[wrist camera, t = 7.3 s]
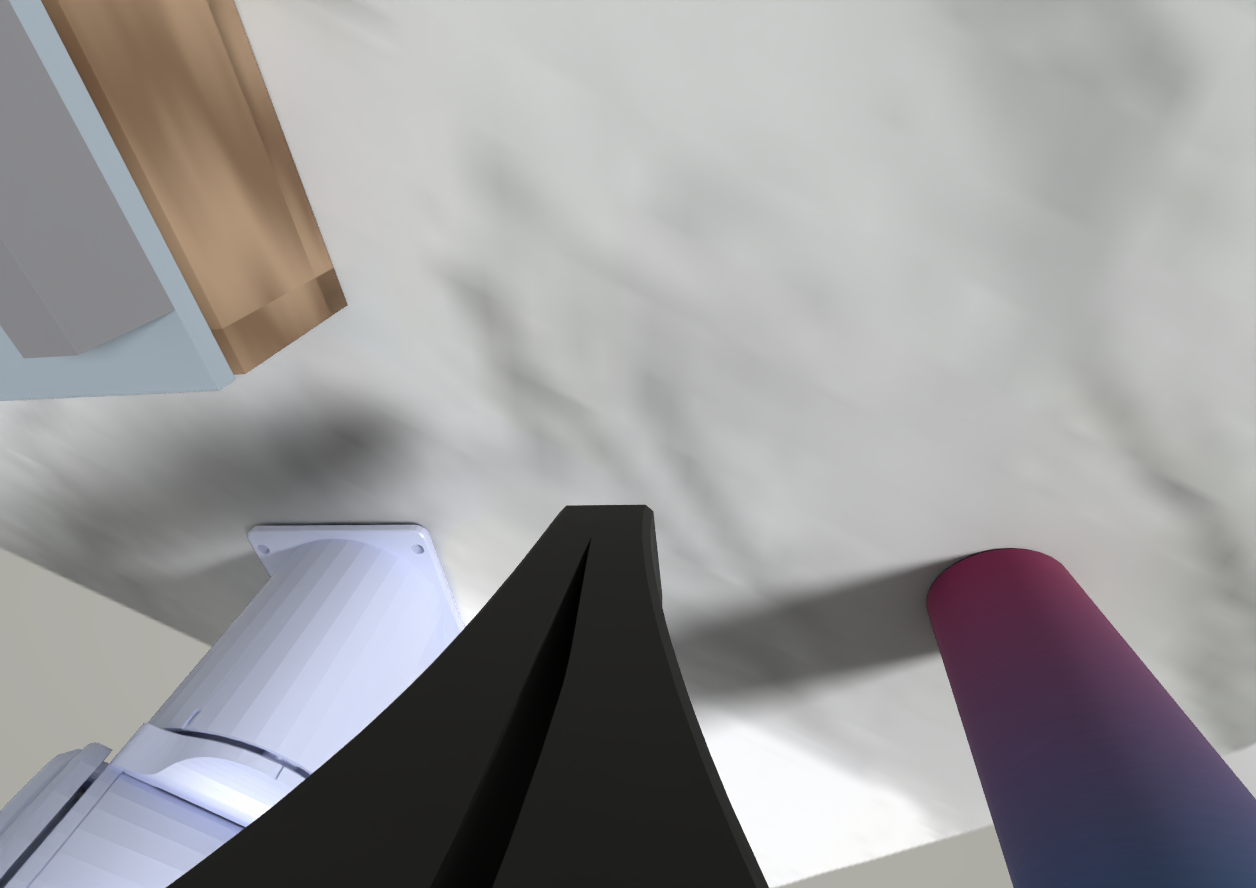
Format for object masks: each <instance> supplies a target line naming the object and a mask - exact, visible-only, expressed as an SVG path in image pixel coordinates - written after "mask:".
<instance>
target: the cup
mask: <svg viewBox="0 0 1256 888" xmlns="http://www.w3.org/2000/svg"><path fill="white" fill-rule="evenodd" d="M926 606H927V611H928V615H929V618H930V621H931V624H932V627H933V631H934V634H935V637H936V640H937V643H938V647H939V650H940V653H941V656H942V659H943V663H944V666H945V669H946V672H947V675H948V679H949V682H950V685H951V688H952V692H953V695H954V698H955V701H956V704H957V708H958V711H959V714H960V717H961V720H962V724H963V727H964V730H965V733H966V736H967V740H968V743H969V746H970V749H971V752H972V756H973V759H974V762H975V765H976V768H977V772H978V775H979V778H980V781H981V784H982V788H983V791H984V794H985V797H986V800H987V804H988V807H989V810H990V813H991V817H992V820H993V823H994V826H995V829H996V833H997V836H998V839H999V842H1000V845H1001V848H1002V852H1003V855H1004V858H1005V861H1006V864H1007V868H1008V871H1009V874H1010V877H1011V881H1012V883H1013V887H1014V888H1256V799H1255V798H1254V797H1253V796H1252V794H1251V793H1250V792H1249V791H1248V789H1247V788H1246V787H1245V786H1244V784H1243V783H1242V782H1241V781H1240V780H1239V778H1238V777H1237V776H1236V775H1235V774H1234V773H1233V771H1232V770H1231V769H1230V768H1229V766H1228V765H1227V764H1226V763H1225V762H1224V760H1223V759H1222V758H1221V757H1220V755H1219V754H1218V753H1217V752H1216V750H1215V749H1214V748H1213V747H1212V746H1211V744H1210V743H1209V742H1208V741H1207V740H1206V738H1205V737H1204V736H1203V735H1202V733H1201V732H1200V731H1199V730H1198V729H1197V727H1196V726H1195V725H1194V724H1193V723H1192V721H1191V720H1190V719H1189V718H1188V716H1187V715H1186V714H1185V713H1184V712H1183V710H1182V709H1181V708H1180V707H1179V706H1178V704H1177V703H1176V702H1175V701H1174V699H1173V698H1172V697H1171V696H1170V695H1169V693H1168V692H1167V691H1166V690H1165V689H1164V687H1163V686H1162V685H1161V684H1160V682H1159V681H1158V680H1157V679H1156V678H1155V676H1154V675H1153V674H1152V673H1151V672H1150V670H1149V669H1148V668H1147V667H1146V665H1145V664H1144V663H1143V662H1142V661H1141V659H1140V658H1139V657H1138V656H1137V655H1136V653H1135V652H1134V651H1133V650H1132V648H1131V647H1130V646H1129V645H1128V644H1127V642H1126V641H1125V640H1124V639H1123V638H1122V636H1121V635H1120V634H1119V633H1118V631H1117V630H1116V629H1115V628H1114V627H1113V625H1112V624H1111V623H1110V622H1109V621H1108V619H1107V618H1106V617H1105V616H1104V615H1103V613H1102V612H1101V611H1100V610H1099V608H1098V607H1097V606H1096V605H1095V604H1094V602H1093V601H1092V600H1091V599H1090V598H1089V596H1088V595H1087V594H1086V593H1085V591H1084V590H1083V589H1082V588H1081V587H1080V585H1079V584H1078V583H1077V582H1076V581H1075V579H1074V578H1073V577H1072V576H1071V574H1070V573H1069V572H1068V571H1067V570H1066V568H1065V567H1064V566H1063V565H1062V564H1061V563H1060V562H1058V561H1057V560H1055V559H1054V558H1052V557H1050V556H1048V555H1045V554H1043V553H1040V552H1036V551H1031V550H1027V549H999V550H993V551H988V552H983V553H980V554H977V555H974V556H971V557H968V558H966V559H964V560H962V561H960V562H958V563H956V564H954V565H953V566H951V567H950V568H948V569H947V570H946V571H944V572H943V573H942V574H941V575H940V576H939V577H938V578H937V579H936V581H935V582H934V584H933V585H932V586H931V588H930V591H929V593H928V596H927V605H926Z"/></svg>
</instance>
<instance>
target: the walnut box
mask: <svg viewBox="0 0 1256 888" xmlns="http://www.w3.org/2000/svg"><path fill="white" fill-rule="evenodd" d="M41 2H42V4H43V6H44V8H45V10H46V11H47V13H48V15H49V17H50V19H51V21H52V23H53V25H54V27H55V29H56V31H57V33H58V35H59V37H60V39H61V41H62V43H63V45H64V46H65V48H66V50H67V52H68V54H69V56H70V58H71V60H72V62H73V64H74V66H75V68H76V70H77V72H78V74H79V76H80V78H81V79H82V81H83V83H84V85H85V87H86V89H87V91H88V93H89V95H90V97H91V99H92V101H93V103H94V105H95V107H96V109H97V111H98V113H99V114H100V116H101V118H102V120H103V122H104V124H105V126H106V128H107V130H108V132H109V134H110V136H111V138H112V140H113V142H114V144H115V146H116V147H117V149H118V151H119V153H120V155H121V157H122V159H123V161H124V163H125V165H126V167H127V169H128V171H129V173H130V175H131V177H132V179H133V180H134V182H135V184H136V186H137V188H138V190H139V192H140V194H141V196H142V198H143V200H144V202H145V204H146V206H147V208H148V210H149V212H150V214H151V215H152V217H153V219H154V221H155V223H156V225H157V227H158V229H159V231H160V233H161V235H162V237H163V239H164V241H165V243H166V245H167V247H168V248H169V250H170V252H171V254H172V256H173V258H174V260H175V262H176V264H177V266H178V268H179V270H180V272H181V274H182V276H183V278H184V280H185V282H186V283H187V285H188V287H189V289H190V291H191V293H192V295H193V297H194V299H195V301H196V303H197V305H198V307H199V309H200V311H201V313H202V315H203V316H204V318H205V320H206V322H207V324H208V326H209V328H210V330H211V332H212V334H213V336H214V338H215V340H216V342H217V344H218V346H219V348H220V350H221V351H222V353H223V355H224V357H225V359H226V361H227V363H228V365H229V367H230V369H231V371H232V373H233V375H234V374H246V373H247V372H249V371H250V370H252V369H253V368H255V367H256V366H258V365H259V364H261V363H262V362H264V361H265V360H267V359H268V358H270V357H271V356H273V355H274V354H276V353H277V352H279V351H280V350H282V349H283V348H285V347H286V346H287V345H289V344H290V343H292V342H293V341H295V340H296V339H298V338H299V337H301V336H302V335H304V334H305V333H307V332H308V331H310V330H311V329H313V328H314V327H316V326H317V325H319V324H320V323H322V322H323V321H325V320H326V319H328V318H329V317H331V316H332V315H334V314H335V313H337V312H338V311H339V310H341V309H342V308H344V307H345V306H347V302H346V300H345V297H344V294H343V292H342V289H341V286H340V284H339V281H338V278H337V276H336V273H335V270H334V268H333V265H332V262H331V260H330V257H329V254H328V251H327V249H326V246H325V243H324V241H323V238H322V235H321V233H320V230H319V227H318V225H317V222H316V219H315V217H314V214H313V211H312V209H311V206H310V203H309V201H308V198H307V195H306V193H305V190H304V187H303V185H302V182H301V179H300V177H299V174H298V171H297V169H296V166H295V163H294V160H293V158H292V155H291V152H290V150H289V147H288V144H287V142H286V139H285V136H284V134H283V131H282V128H281V126H280V123H279V120H278V118H277V115H276V112H275V110H274V107H273V104H272V102H271V99H270V96H269V94H268V91H267V88H266V86H265V83H264V80H263V78H262V75H261V72H260V70H259V67H258V64H257V61H256V59H255V56H254V53H253V51H252V48H251V45H250V43H249V40H248V37H247V35H246V32H245V29H244V27H243V24H242V21H241V19H240V16H239V13H238V11H237V8H236V5H235V3H234V0H41Z"/></svg>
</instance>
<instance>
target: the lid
mask: <svg viewBox="0 0 1256 888" xmlns="http://www.w3.org/2000/svg"><path fill="white" fill-rule="evenodd" d="M234 380H236V379H235V377H234V375H233V373H232V371H231V369H230V367H229V365H228V363H227V361H226V359H225V357H224V355H223V353H222V351H221V350H220V348H219V346H218V344H217V342H216V340H215V338H214V336H213V334H212V332H211V330H210V328H209V326H208V324H207V322H206V320H205V318H204V316H203V315H202V313H201V311H200V309H199V307H198V305H197V303H196V301H195V299H194V297H193V295H192V293H191V291H190V289H189V287H188V285H187V283H186V282H185V280H184V278H183V276H182V274H181V272H180V270H179V268H178V266H177V264H176V262H175V260H174V258H173V256H172V254H171V252H170V250H169V248H168V247H167V245H166V243H165V241H164V239H163V237H162V235H161V233H160V231H159V229H158V227H157V225H156V223H155V221H154V219H153V217H152V215H151V214H150V212H149V210H148V208H147V206H146V204H145V202H144V200H143V198H142V196H141V194H140V192H139V190H138V188H137V186H136V184H135V182H134V180H133V179H132V177H131V175H130V173H129V171H128V169H127V167H126V165H125V163H124V161H123V159H122V157H121V155H120V153H119V151H118V149H117V147H116V146H115V144H114V142H113V140H112V138H111V136H110V134H109V132H108V130H107V128H106V126H105V124H104V122H103V120H102V118H101V116H100V114H99V113H98V111H97V109H96V107H95V105H94V103H93V101H92V99H91V97H90V95H89V93H88V91H87V89H86V87H85V85H84V83H83V81H82V79H81V78H80V76H79V74H78V72H77V70H76V68H75V66H74V64H73V62H72V60H71V58H70V56H69V54H68V52H67V50H66V48H65V46H64V45H63V43H62V41H61V39H60V37H59V35H58V33H57V31H56V29H55V27H54V25H53V23H52V21H51V19H50V17H49V15H48V13H47V11H46V10H45V8H44V6H43V4H42V2H41V0H0V401H12V400H33V399H54V398H75V397H97V396H118V395H139V394H160V393H181V392H203V391H219V390H221V389H222V388H224V387H225V386H227V385H228V384H230V383H231V382H233V381H234Z"/></svg>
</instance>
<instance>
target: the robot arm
mask: <svg viewBox="0 0 1256 888" xmlns="http://www.w3.org/2000/svg"><path fill="white" fill-rule="evenodd" d="M247 537H248V540H249V542H250V543H251V545H252V547H253V548H254V550H255V552H256V553H257V555H258V557H259V558H260V560H261V562H262V563H263V565H264V567H265V568H266V570H267V572H268V573H269V575H270V577H271V578H270V579H269V581H268V582H267V583H266V584H265V585H264V586H263V588H262V589H261V590H260V591H259V592H258V593H257V595H256V596H255V597H254V598H253V599H252V601H251V602H250V603H249V604H248V605H247V606H246V608H245V609H244V610H243V611H242V612H241V614H240V615H239V616H238V617H237V618H236V619H235V621H234V622H233V623H232V624H231V625H230V626H229V628H228V629H227V630H226V631H225V632H224V634H223V635H222V636H221V637H220V638H219V639H218V641H217V642H216V643H215V644H214V645H213V647H212V648H211V649H210V650H209V651H208V652H207V654H206V655H205V656H204V657H203V658H202V659H201V661H200V662H199V663H198V664H197V665H196V667H195V668H194V669H193V670H192V672H190V674H189V675H188V676H187V677H186V678H185V680H184V681H183V682H182V683H181V684H180V685H179V687H178V688H177V689H176V690H175V691H174V692H173V694H172V695H171V696H170V697H169V699H168V700H167V701H166V702H165V703H164V704H163V705H162V707H161V708H160V709H159V710H158V711H157V712H156V714H155V715H154V716H153V717H152V718H151V720H150V721H149V722H148V723H145V724H143V725H142V726H141V727H140V729H139V730H138V731H137V732H136V733H135V734H134V735H133V737H132V738H131V739H130V740H129V741H128V742H127V744H126V745H125V746H124V747H123V748H122V749H121V751H120V752H119V753H118V754H117V755H116V756H115V758H114V759H113V760H112V761H111V762H110V763H109V764H108V763H106V762H104V760H105V758H106V757H107V756H108V755H109V754H110V753H111V751H112V749H110V748H108V747H106V746H104V745H102V744H100V743H95V742H94V743H91V744H89V745H87V746H86V747H85V748H84V749H82V750H80V749H77V750H74V751H70V752H66V753H63V754H60V755H57V756H56V757H55V758H53V759H52V760H51V761H50V762H49V763H48V764H47V765H45V766H44V767H43V768H42V769H41V770H40V771H39V772H38V773H37V774H36V775H35V776H34V777H33V778H32V779H31V780H30V781H29V782H28V783H27V784H26V785H25V786H24V787H23V788H22V789H21V790H20V791H19V792H18V793H17V794H16V795H15V796H14V797H13V798H12V799H11V800H10V801H9V802H8V803H7V804H6V805H5V807H4V808H3V809H2V810H1V811H0V888H769V887H768V885H767V882H766V880H765V878H764V876H763V874H762V871H761V869H760V867H759V865H758V863H757V860H756V858H755V856H754V854H753V852H752V849H751V847H750V845H749V843H748V841H747V838H746V836H745V834H744V832H743V830H742V827H741V825H740V823H739V821H738V819H737V816H736V814H735V812H734V810H733V808H732V805H731V803H730V801H729V798H728V796H727V794H726V791H725V789H724V786H723V784H722V781H721V779H720V777H719V774H718V772H717V769H716V767H715V764H714V762H713V759H712V757H711V755H710V752H709V750H708V747H707V744H706V742H705V739H704V736H703V734H702V731H701V729H700V726H699V723H698V721H697V718H696V715H695V713H694V710H693V707H692V704H691V701H690V699H689V696H688V693H687V690H686V687H685V684H684V681H683V678H682V675H681V672H680V669H679V665H678V662H677V659H676V656H675V653H674V649H673V646H672V643H671V639H670V636H669V632H668V629H667V625H666V621H665V617H664V613H663V609H662V589H661V580H660V570H659V561H658V552H657V542H656V533H655V524H654V514H653V511H652V510H651V509H650V508H649V507H647V506H646V505H583V506H566V507H565V508H564V509H563V510H562V511H561V512H560V513H559V514H558V515H557V517H556V518H555V519H554V521H553V522H552V523H551V524H550V526H549V527H548V528H547V530H546V531H545V532H544V533H543V535H542V536H541V537H540V539H539V540H538V541H537V542H536V544H535V545H534V546H533V548H532V549H531V550H530V551H529V553H528V554H527V555H526V556H525V558H524V559H523V560H522V561H521V563H520V564H519V565H518V566H517V568H516V569H515V570H514V571H513V573H512V574H511V575H510V576H509V577H508V578H507V580H506V581H505V582H504V583H503V584H502V586H501V587H500V588H499V589H498V590H497V592H496V593H495V594H494V595H493V596H492V597H491V599H490V600H489V601H488V602H487V603H486V605H485V606H484V607H483V608H482V609H481V610H480V612H479V613H478V614H477V615H476V616H475V617H474V618H473V619H472V621H471V622H470V623H469V624H468V625H467V626H466V627H464V625H463V622H462V620H461V617H460V614H459V612H458V609H457V606H456V604H455V601H454V598H453V596H452V593H451V590H450V588H449V585H448V583H447V580H446V577H445V575H444V572H443V569H442V567H441V564H440V561H439V559H438V556H437V554H436V551H435V548H434V546H433V543H432V540H431V538H430V535H429V533H428V531H427V530H426V529H425V528H423V527H421V526H419V525H306V526H255V527H254V528H253V529H252V530H251V531H250V532H249V533H248V535H247ZM418 545H420V546H422V547H420V546H418Z"/></svg>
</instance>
